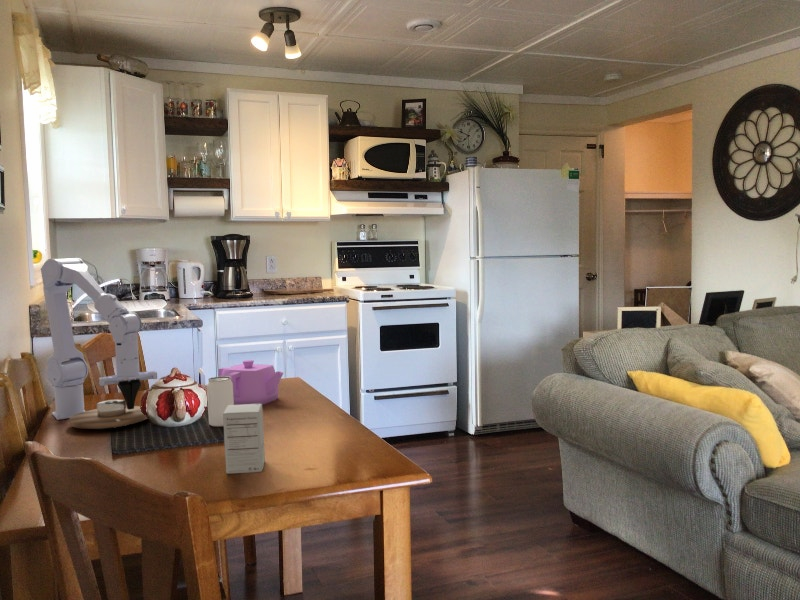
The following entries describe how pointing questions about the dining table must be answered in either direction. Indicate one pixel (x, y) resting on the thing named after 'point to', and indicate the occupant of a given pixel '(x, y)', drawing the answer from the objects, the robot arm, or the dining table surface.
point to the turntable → (106, 419)
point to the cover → (111, 408)
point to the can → (219, 399)
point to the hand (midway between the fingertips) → (130, 408)
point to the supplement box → (244, 438)
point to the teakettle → (253, 382)
